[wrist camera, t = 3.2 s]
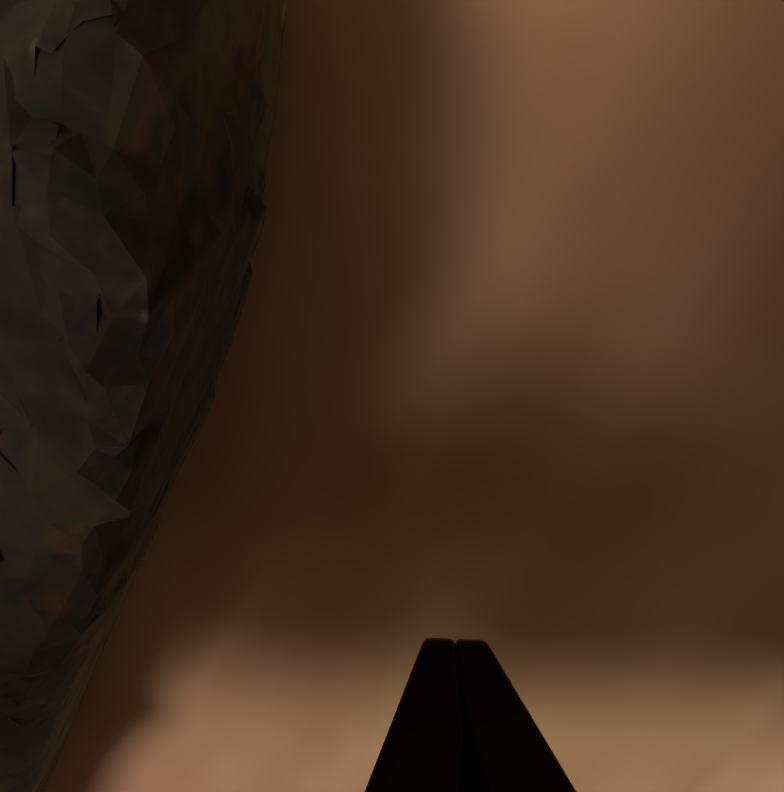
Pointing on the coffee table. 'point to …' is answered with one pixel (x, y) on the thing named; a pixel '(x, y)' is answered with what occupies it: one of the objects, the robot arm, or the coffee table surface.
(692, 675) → the coffee table surface
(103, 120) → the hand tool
